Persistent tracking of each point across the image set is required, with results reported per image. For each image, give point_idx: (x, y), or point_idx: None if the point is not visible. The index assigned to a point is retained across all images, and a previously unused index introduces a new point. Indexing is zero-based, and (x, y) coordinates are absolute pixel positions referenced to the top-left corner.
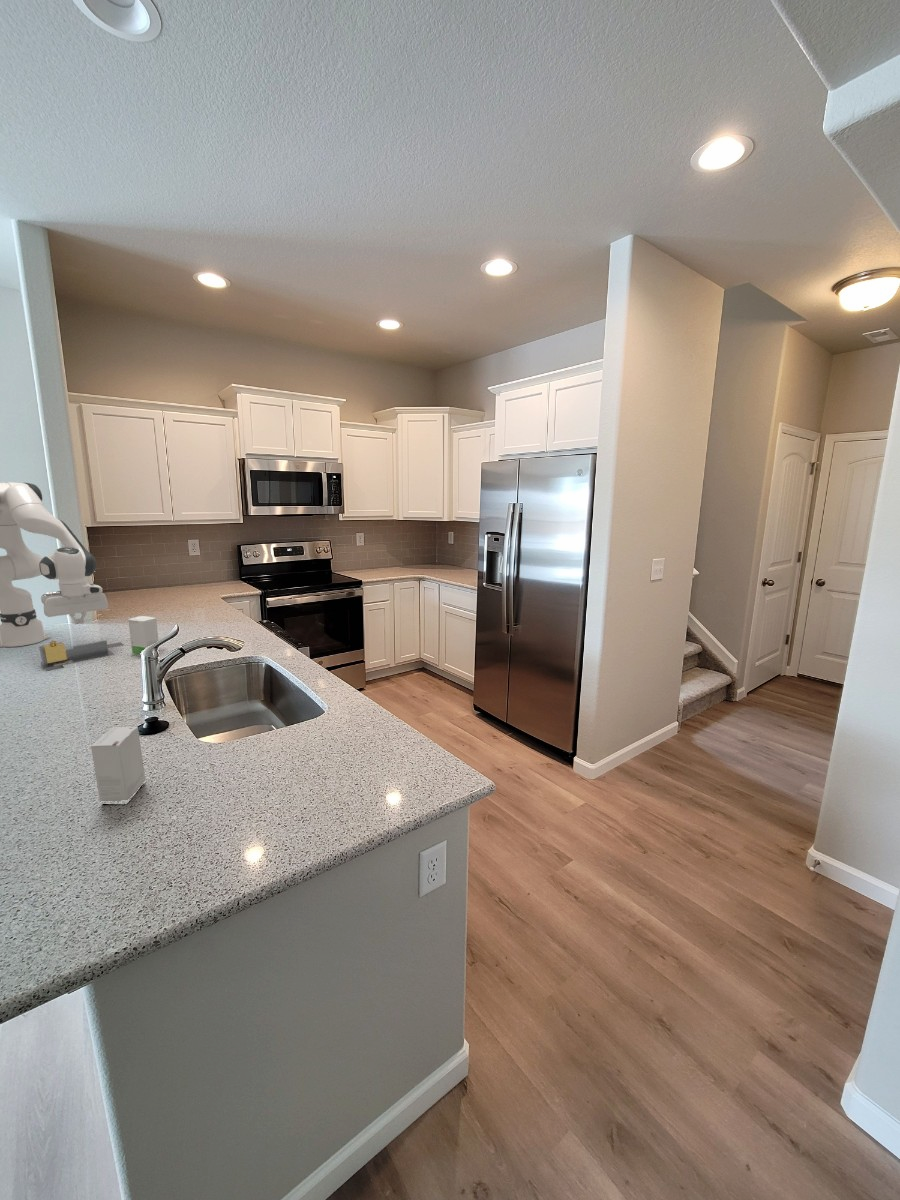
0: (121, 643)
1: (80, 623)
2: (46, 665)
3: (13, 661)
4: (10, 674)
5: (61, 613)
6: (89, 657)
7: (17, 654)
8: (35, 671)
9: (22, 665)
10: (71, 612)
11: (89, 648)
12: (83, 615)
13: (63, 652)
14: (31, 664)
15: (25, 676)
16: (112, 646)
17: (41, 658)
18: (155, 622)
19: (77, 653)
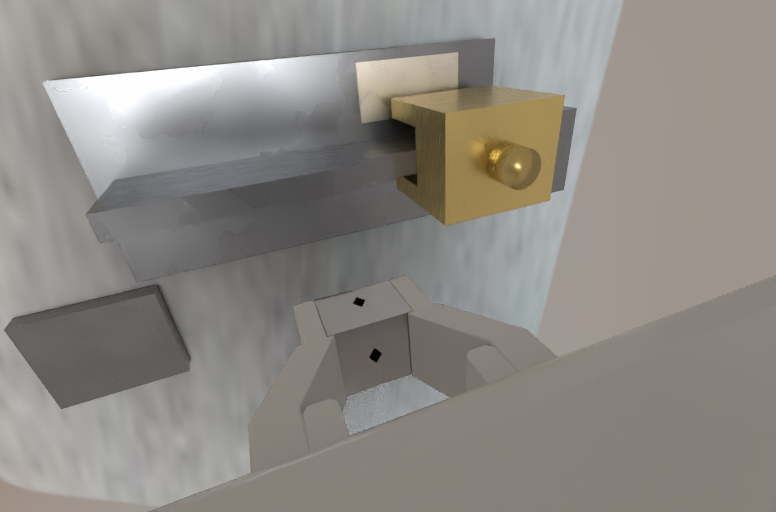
0: (44, 377)
1: (342, 293)
2: None
3: (533, 311)
4: (591, 112)
5: (768, 310)
6: (251, 110)
7: None
8: (518, 80)
9: (528, 235)
10: (602, 368)
11: (248, 172)
12: (311, 406)
13: (428, 102)
14: (502, 229)
15: (568, 9)
16: (107, 329)
17: None
18: None
19: (330, 153)
